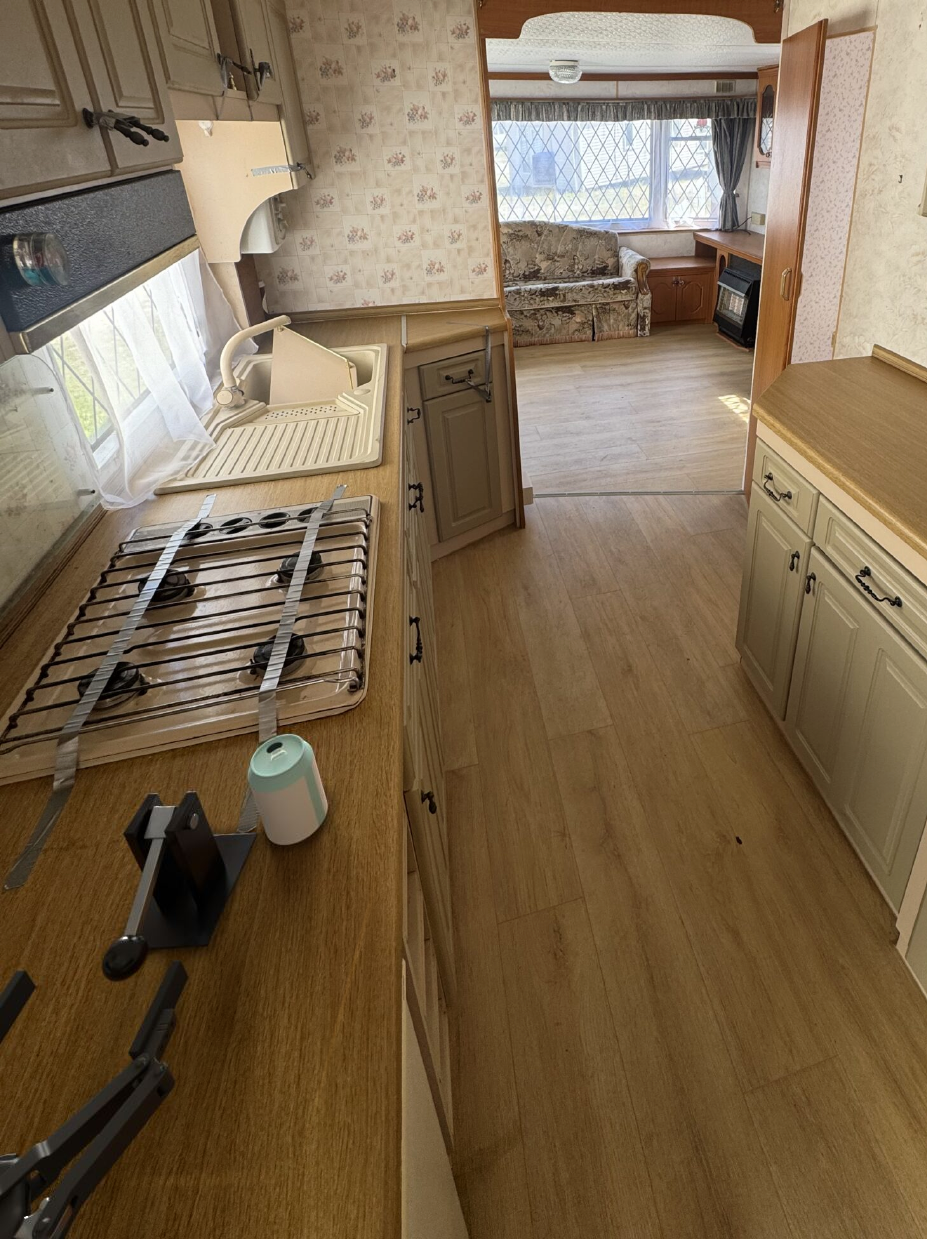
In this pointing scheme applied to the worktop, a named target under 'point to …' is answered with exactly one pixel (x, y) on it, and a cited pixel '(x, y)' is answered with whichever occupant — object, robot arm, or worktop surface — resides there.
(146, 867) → the tap lever
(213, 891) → the lever stand
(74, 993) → the worktop surface
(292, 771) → the can
